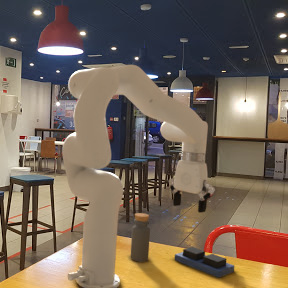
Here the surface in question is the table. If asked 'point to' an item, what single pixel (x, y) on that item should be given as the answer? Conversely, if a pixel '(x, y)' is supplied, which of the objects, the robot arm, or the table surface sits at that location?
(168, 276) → the table surface
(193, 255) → the pad
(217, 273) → the frame
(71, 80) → the robot arm
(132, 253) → the bottle
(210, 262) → the pad
